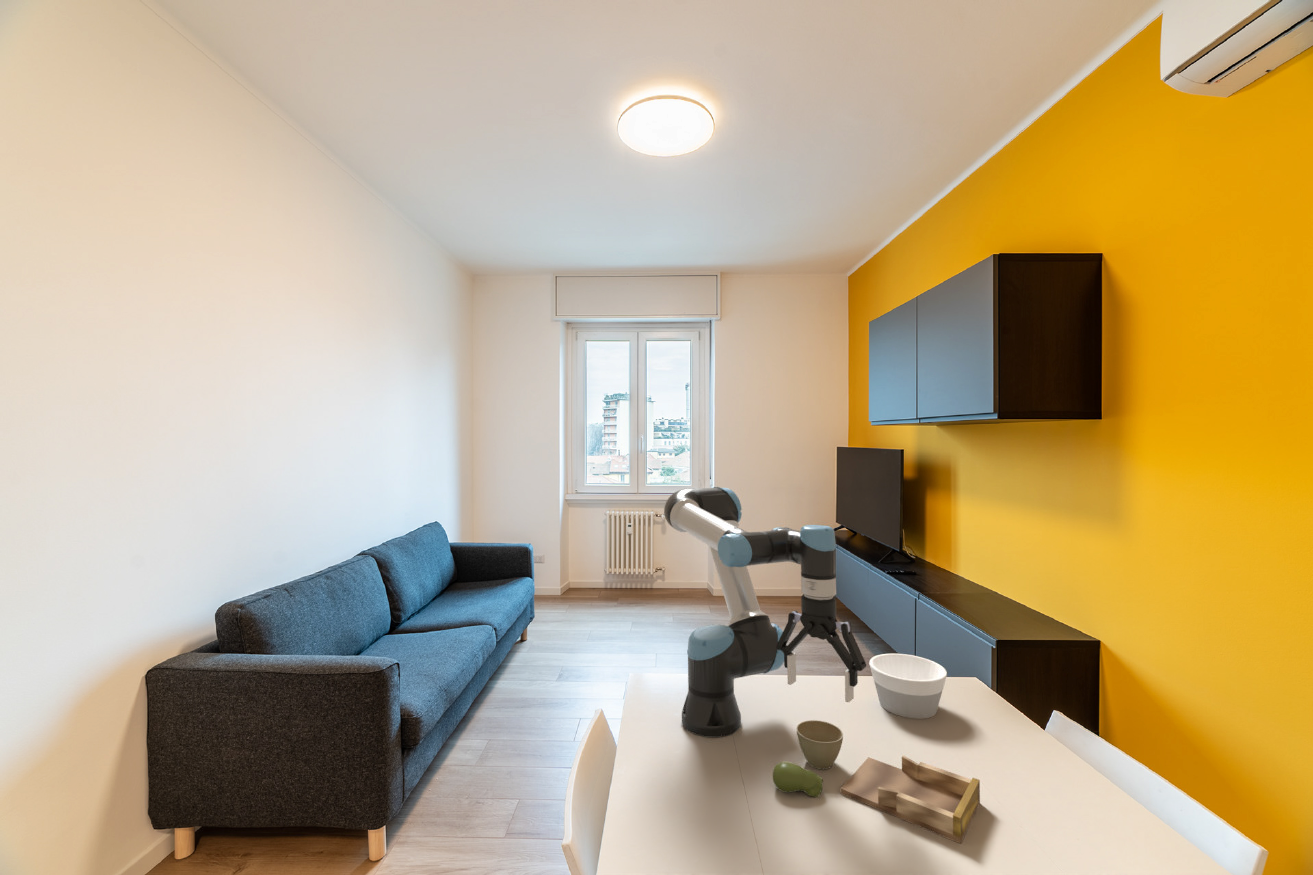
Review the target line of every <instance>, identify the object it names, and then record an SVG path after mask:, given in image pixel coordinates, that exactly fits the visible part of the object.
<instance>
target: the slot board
mask: <svg viewBox="0 0 1313 875" xmlns="http://www.w3.org/2000/svg"><path fill="white" fill-rule="evenodd" d="M980 782H981V781H980V779H978V778H975V777H972V778H967V777H965V776H962V775H960V774H956V773H953V772H951V771H948V770H945V769H942V768H939V767H936V766H933V765H930V764H927V763H926V762H923V761H921V762H919V763H918V762H916V761H914V760H912V759H911V758H909V757H907V756H906V755H903V756H901V768H900V767H897V766H894V765H891V764H889V763H886V762H883V761H879V760H877V759H874V758H872V757H867V758H866V759H865V760H864V762H863V763H861V765H860V766H859V767H858V768H857V769H856V771H855V772H854V773H853V774H852V775H851V776H850V777H849V778H848V780H846V782H845V783H843V785H842V786H841V787H840V794H841V795H844V796H846V797H849V798H852V799H854V800H856V801H859V802H860V803H863V804H865V805H868V806H870V807H872V808H874V809H877V810H880V811H881V812H885V813H886V814H889V815H891V816H894V817H896V818H898V819H901V820H902V821H906V822H908V823H911V824H913V825H915V826H917V827H920V828H923V829H925V830H927V831H929V832H933V833H935V834H937V835H939V836H941V837H944V838H946V839H948V840H951V841H953V842H956V843H957V844H960V845H961V844H962V842H963V840H964V838H965V836H966V834H967V832H968V829H969V827H970V825H971V823H972V821H973V818H974V816H975V814H976V812H977V810H978V808H979V806H980V803H981V795H980V794H981V789H980V788H981V786H980Z"/></svg>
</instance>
